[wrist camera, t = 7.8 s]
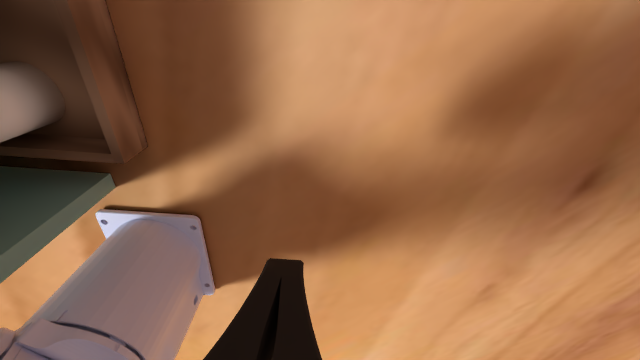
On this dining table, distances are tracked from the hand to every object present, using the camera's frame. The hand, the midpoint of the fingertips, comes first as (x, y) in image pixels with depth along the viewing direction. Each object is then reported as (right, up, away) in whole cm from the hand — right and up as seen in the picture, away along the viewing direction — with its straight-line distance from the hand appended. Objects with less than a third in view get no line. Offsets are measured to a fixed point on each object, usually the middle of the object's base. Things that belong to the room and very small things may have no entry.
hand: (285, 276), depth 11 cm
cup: (-16, +9, +5) cm, 19 cm away
